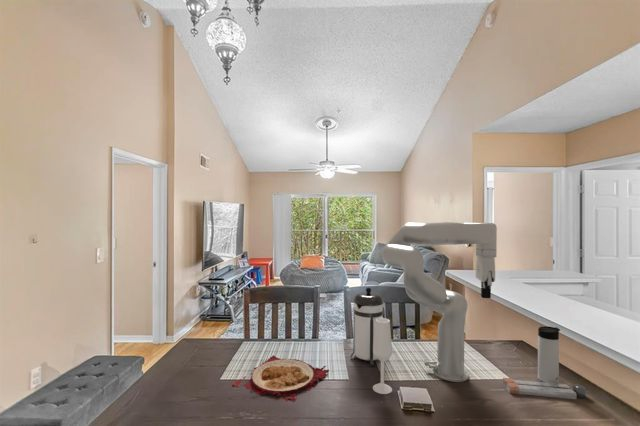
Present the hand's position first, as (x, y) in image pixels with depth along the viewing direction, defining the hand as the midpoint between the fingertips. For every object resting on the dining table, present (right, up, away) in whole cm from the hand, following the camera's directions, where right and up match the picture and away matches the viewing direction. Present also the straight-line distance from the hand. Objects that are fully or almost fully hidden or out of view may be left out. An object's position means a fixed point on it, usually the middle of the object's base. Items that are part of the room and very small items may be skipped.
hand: (485, 297), depth 133 cm
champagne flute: (-46, -27, -19) cm, 57 cm away
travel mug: (+16, -27, -14) cm, 35 cm away
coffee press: (-47, -27, +5) cm, 55 cm away
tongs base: (+10, -27, -20) cm, 35 cm away
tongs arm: (+7, -27, -22) cm, 36 cm away
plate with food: (-82, -28, -13) cm, 87 cm away
